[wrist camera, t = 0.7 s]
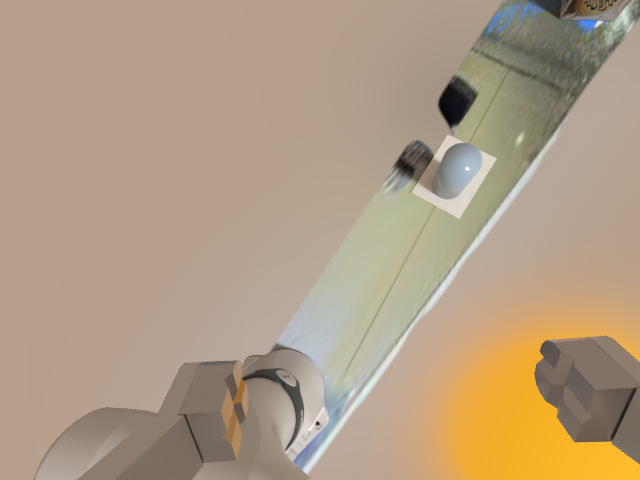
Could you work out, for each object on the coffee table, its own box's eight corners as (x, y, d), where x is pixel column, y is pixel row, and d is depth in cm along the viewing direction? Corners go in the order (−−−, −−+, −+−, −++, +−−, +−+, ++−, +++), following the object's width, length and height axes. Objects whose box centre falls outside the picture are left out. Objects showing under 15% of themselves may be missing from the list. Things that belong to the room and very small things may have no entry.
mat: (458, 219, 61) (459, 218, 61) (411, 193, 64) (411, 192, 63) (495, 159, 62) (496, 158, 61) (447, 135, 64) (447, 134, 63)
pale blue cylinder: (453, 204, 61) (469, 185, 50) (426, 190, 63) (435, 167, 51) (469, 179, 61) (489, 153, 50) (441, 165, 63) (455, 136, 51)
